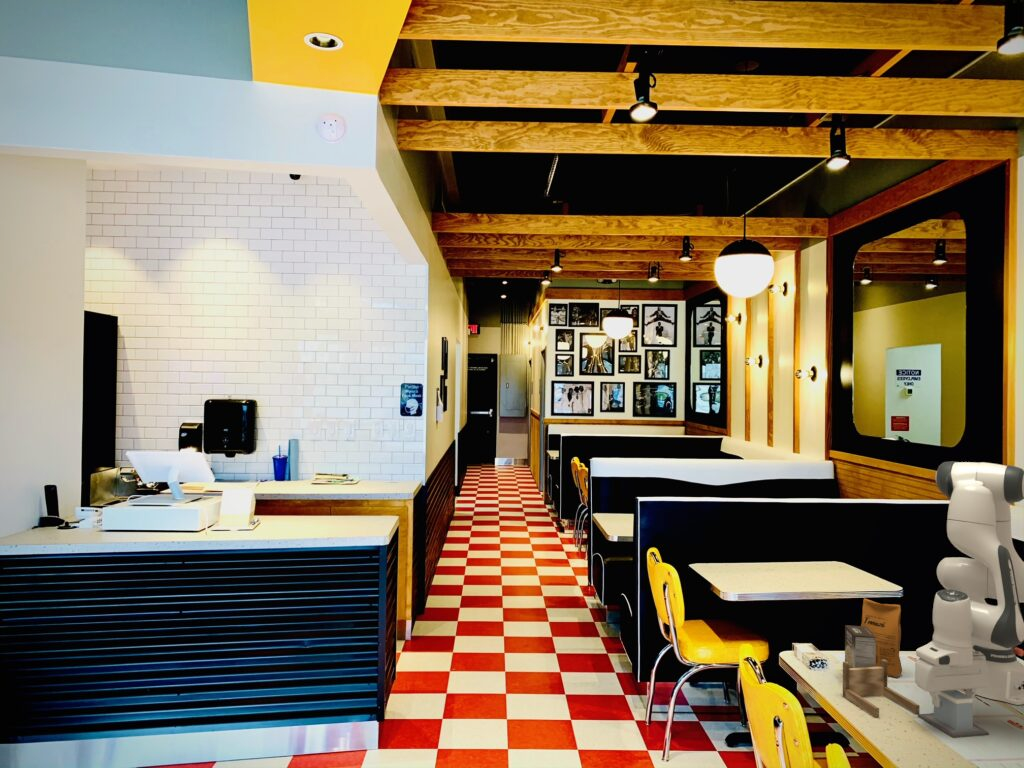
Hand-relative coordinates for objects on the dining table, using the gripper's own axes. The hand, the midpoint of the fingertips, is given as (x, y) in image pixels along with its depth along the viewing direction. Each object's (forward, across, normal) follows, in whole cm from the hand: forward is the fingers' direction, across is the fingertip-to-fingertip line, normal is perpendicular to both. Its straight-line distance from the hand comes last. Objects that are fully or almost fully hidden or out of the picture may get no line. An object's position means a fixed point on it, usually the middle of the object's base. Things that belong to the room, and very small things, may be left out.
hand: (952, 704), depth 166 cm
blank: (+5, 0, 0) cm, 5 cm away
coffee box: (+6, +6, -26) cm, 28 cm away
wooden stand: (+5, +11, -12) cm, 18 cm away
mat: (+5, 0, 0) cm, 5 cm away
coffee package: (+6, -8, -34) cm, 36 cm away
